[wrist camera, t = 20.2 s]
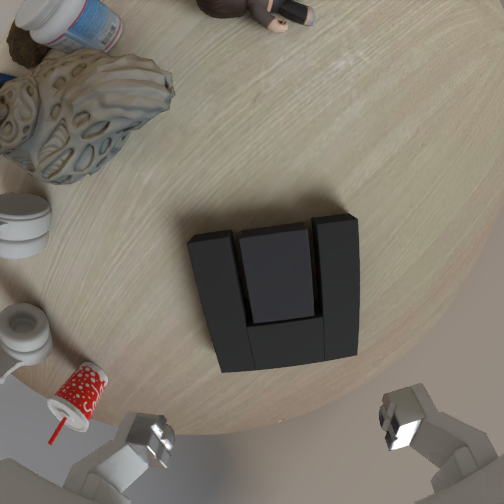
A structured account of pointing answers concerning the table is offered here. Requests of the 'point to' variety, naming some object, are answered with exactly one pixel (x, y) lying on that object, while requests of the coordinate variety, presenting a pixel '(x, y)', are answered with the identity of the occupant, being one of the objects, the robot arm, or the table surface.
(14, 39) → the decorative stone
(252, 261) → the pad
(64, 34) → the pill bottle
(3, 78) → the cell phone
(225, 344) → the base pad
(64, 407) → the beverage cup
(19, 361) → the headphones
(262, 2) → the figurine
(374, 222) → the table surface
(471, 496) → the robot arm
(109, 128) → the perforated clay sculpture
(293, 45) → the table surface
